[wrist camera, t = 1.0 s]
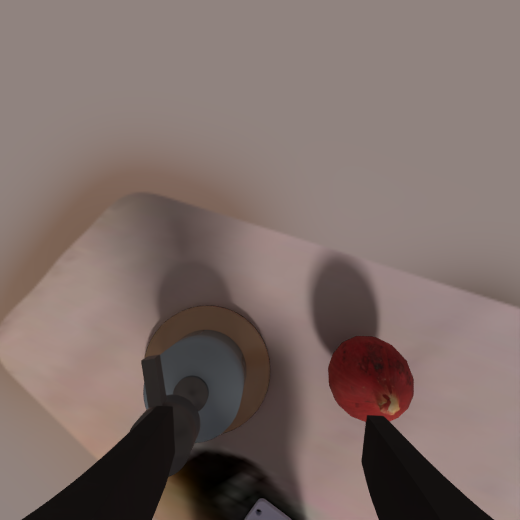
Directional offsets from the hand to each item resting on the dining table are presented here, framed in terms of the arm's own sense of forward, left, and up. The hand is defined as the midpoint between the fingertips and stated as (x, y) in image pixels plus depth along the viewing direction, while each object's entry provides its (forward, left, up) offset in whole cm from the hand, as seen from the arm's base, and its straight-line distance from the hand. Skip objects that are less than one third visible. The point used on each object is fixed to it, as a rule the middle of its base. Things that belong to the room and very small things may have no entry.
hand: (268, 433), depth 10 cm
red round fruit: (+3, -7, -15) cm, 17 cm away
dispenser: (-5, +3, -15) cm, 16 cm away
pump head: (-5, +4, -6) cm, 9 cm away
